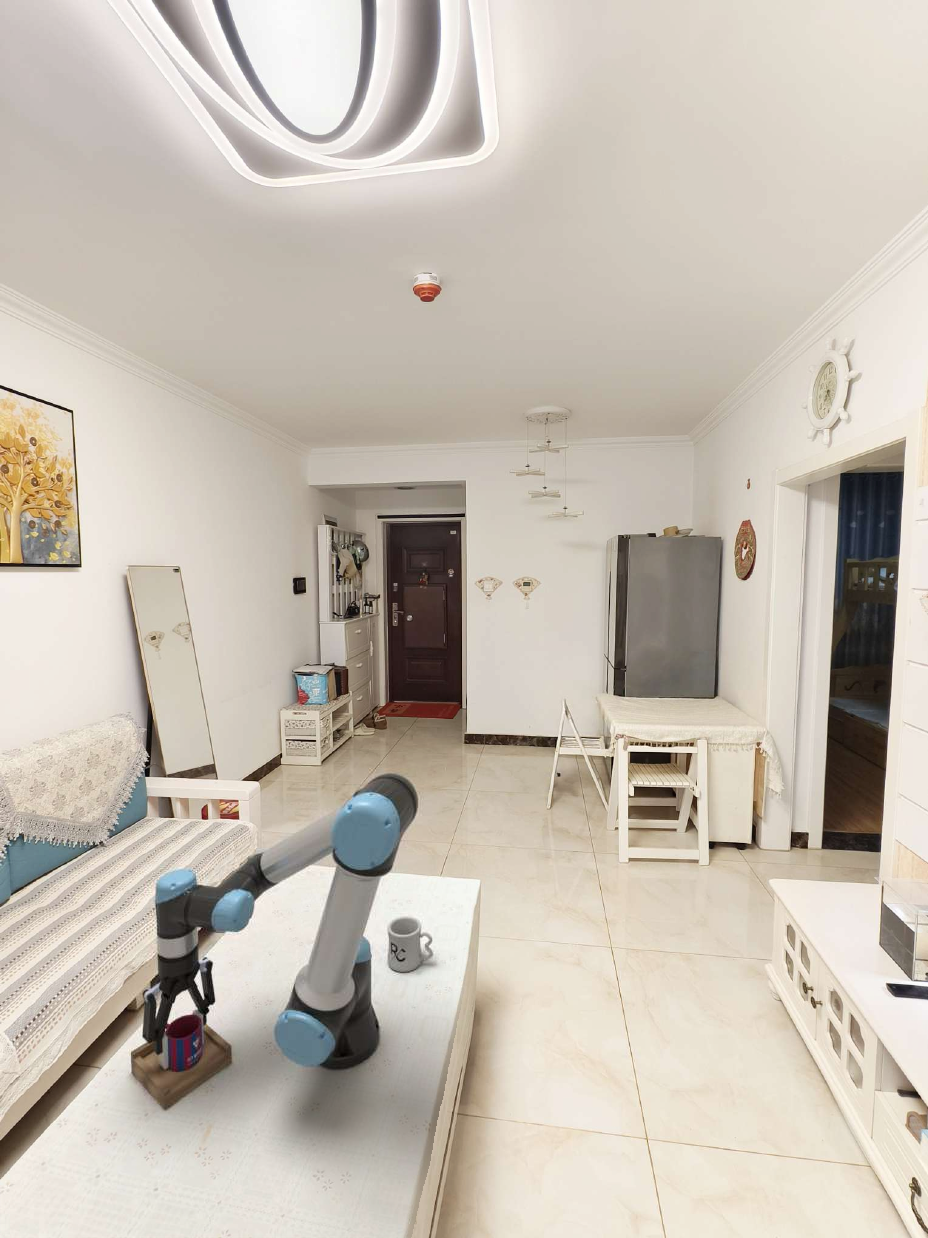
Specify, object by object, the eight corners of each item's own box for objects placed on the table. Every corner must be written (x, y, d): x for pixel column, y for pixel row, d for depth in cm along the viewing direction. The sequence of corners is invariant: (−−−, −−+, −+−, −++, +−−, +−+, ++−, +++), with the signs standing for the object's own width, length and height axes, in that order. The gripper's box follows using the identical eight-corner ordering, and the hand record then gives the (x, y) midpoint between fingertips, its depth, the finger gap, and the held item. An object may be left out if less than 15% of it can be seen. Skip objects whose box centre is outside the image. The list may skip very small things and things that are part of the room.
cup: (183, 1076, 116) (182, 1044, 115) (147, 1059, 120) (146, 1028, 119) (209, 1050, 122) (208, 1020, 122) (174, 1035, 126) (173, 1006, 125)
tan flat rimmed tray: (231, 1061, 123) (231, 1041, 122) (164, 1110, 111) (164, 1088, 111) (197, 1030, 131) (196, 1011, 131) (131, 1072, 120) (130, 1052, 120)
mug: (382, 970, 151) (381, 933, 150) (394, 948, 160) (394, 913, 159) (427, 978, 148) (427, 941, 147) (437, 955, 157) (437, 920, 156)
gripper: (213, 918, 129) (216, 1016, 131) (118, 966, 114) (122, 1076, 115) (232, 931, 125) (234, 1032, 127) (136, 982, 109) (140, 1096, 111)
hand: (181, 1053), depth 121 cm, fingers closed on cup, 7 cm apart
